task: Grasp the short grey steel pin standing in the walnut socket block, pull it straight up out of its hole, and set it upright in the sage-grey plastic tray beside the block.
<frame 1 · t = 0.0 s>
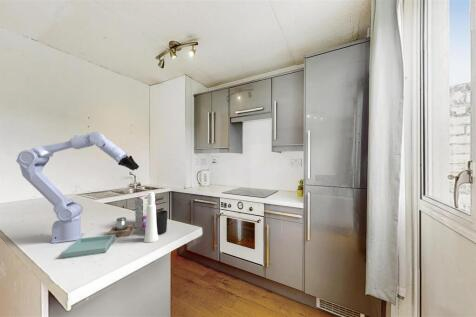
hand: (136, 168, 98), 32 cm above the countertop, tool tilted 50°, fingers open, 7 cm apart
pen holder: (157, 232, 97), on the countertop
steel pin: (121, 226, 95), in the socket block
cosmetic bottle: (151, 240, 87), on the countertop
tray: (91, 247, 80), on the countertop
socket block: (121, 233, 95), on the countertop
candy bar box: (145, 225, 107), on the countertop
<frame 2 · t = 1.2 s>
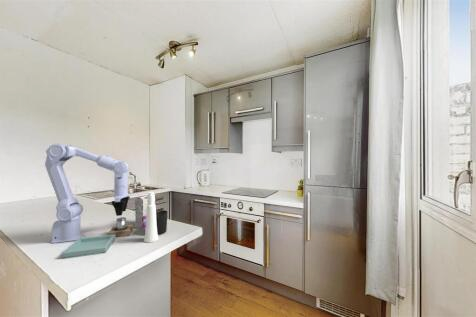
hand: (121, 213, 95), 10 cm above the countertop, tool pointing down, fingers open, 7 cm apart
nothing on the countertop moved.
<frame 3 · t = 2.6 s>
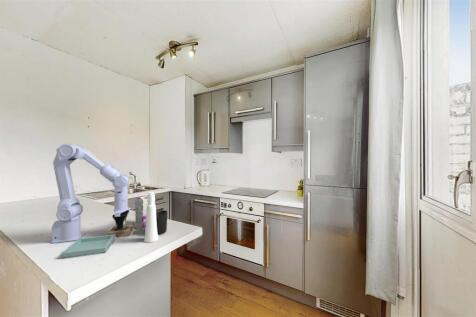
hand: (121, 227, 95), 3 cm above the countertop, tool pointing down, fingers closed on steel pin, 4 cm apart
steel pin: (121, 226, 95), in the socket block, touching gripper
everything else where it was.
when the fingers open (5 cm above the countertop, at t = 6.7 s): steel pin drops 1 cm, resting on tray.
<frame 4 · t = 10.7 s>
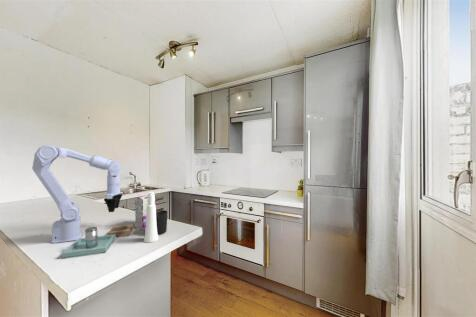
hand: (113, 209, 100), 10 cm above the countertop, tool pointing down, fingers open, 7 cm apart
steel pin: (91, 237, 80), in the tray
everything else where it was.
at the end: steel pin inside the target area on the tray (0.2 cm from its centre), point 4.3 cm above the tray's base; steel pin tilted 2°; steel pin moved 15.2 cm from its start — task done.
